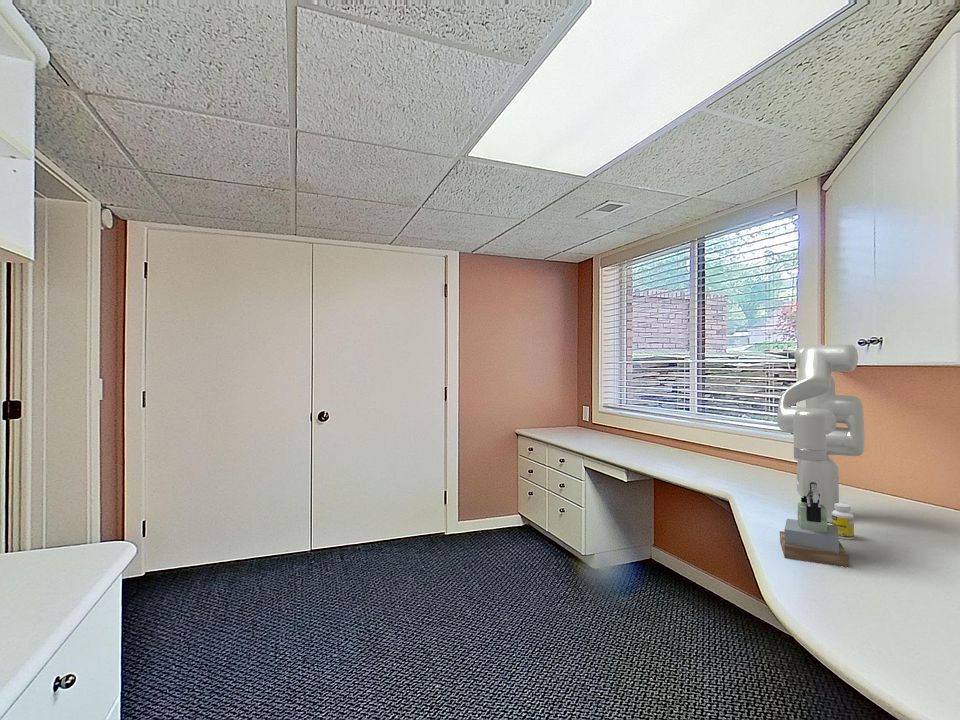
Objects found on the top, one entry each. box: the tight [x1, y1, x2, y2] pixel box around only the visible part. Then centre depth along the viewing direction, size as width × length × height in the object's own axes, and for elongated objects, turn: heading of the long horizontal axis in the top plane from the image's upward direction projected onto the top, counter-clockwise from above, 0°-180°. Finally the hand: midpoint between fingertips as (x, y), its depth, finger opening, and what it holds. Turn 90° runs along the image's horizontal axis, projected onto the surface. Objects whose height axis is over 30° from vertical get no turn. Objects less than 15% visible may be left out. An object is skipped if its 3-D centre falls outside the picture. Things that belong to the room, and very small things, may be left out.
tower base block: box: [779, 530, 849, 568], centre depth 135 cm, size 14×14×4 cm
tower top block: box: [784, 518, 840, 553], centre depth 136 cm, size 12×12×4 cm
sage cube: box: [797, 501, 828, 532], centre depth 136 cm, size 6×6×6 cm
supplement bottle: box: [831, 502, 855, 541], centre depth 150 cm, size 5×5×10 cm
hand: (810, 516), depth 136 cm, fingers open, 9 cm apart
